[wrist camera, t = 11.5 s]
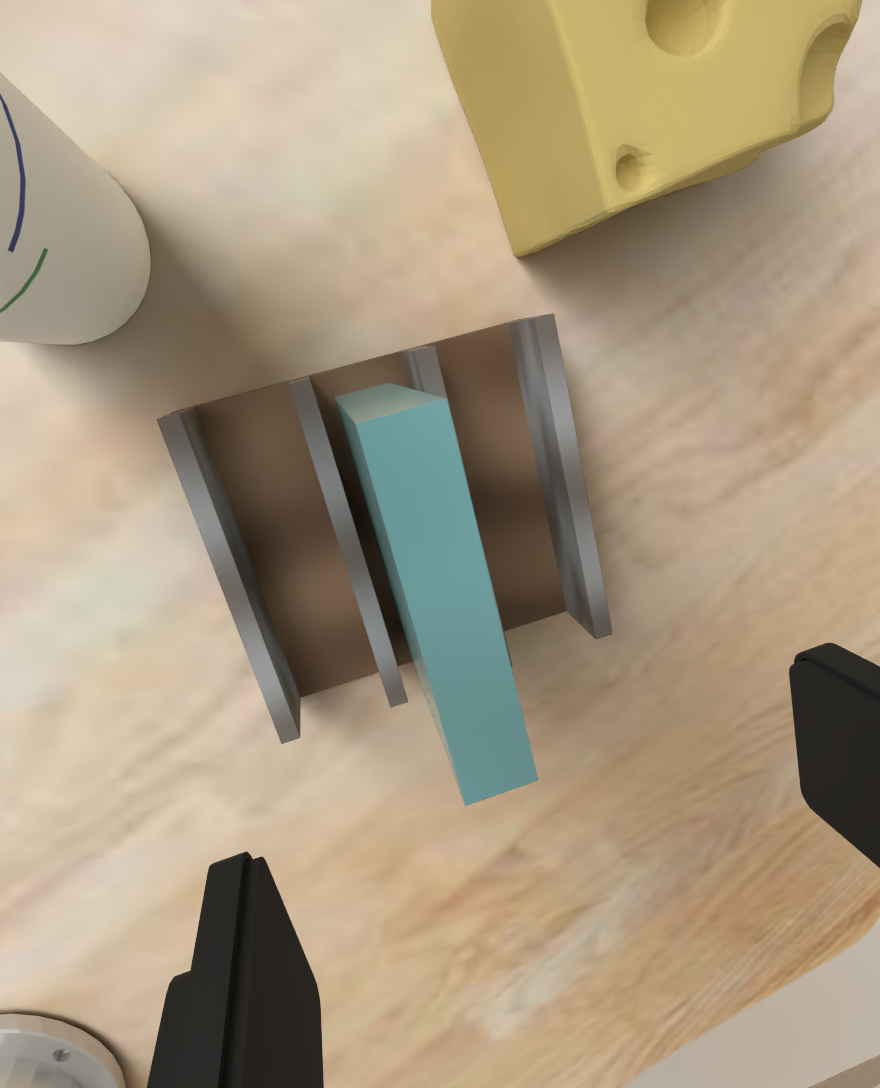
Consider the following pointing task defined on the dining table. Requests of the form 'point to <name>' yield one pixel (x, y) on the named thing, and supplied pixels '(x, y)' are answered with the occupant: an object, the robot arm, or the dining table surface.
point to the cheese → (631, 96)
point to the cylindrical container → (62, 235)
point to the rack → (343, 521)
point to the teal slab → (439, 581)
